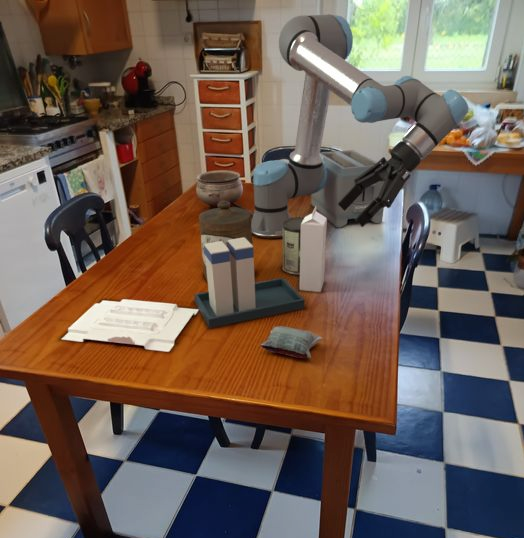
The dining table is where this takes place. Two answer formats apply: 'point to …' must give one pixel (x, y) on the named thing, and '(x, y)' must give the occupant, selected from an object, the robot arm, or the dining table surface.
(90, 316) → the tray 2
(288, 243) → the coffee can
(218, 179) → the cooking pot
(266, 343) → the packaged food
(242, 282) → the carton
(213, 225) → the wooden container
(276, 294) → the tray
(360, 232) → the dining table surface
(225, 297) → the carton
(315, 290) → the milk
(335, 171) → the toaster
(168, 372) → the dining table surface
